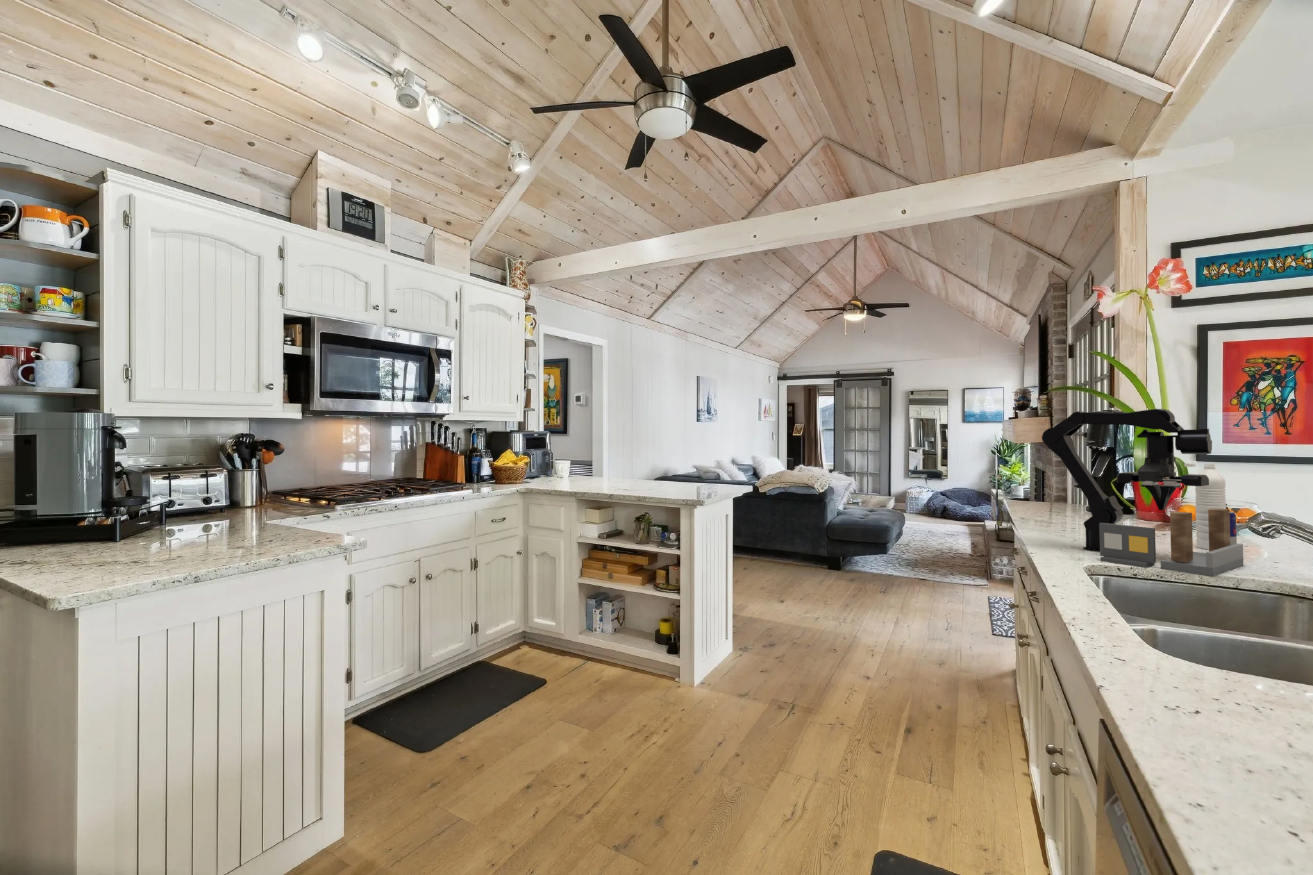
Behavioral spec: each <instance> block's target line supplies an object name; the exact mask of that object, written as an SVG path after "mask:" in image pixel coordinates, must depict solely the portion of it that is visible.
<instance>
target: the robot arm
mask: <svg viewBox="0 0 1313 875" xmlns="http://www.w3.org/2000/svg"><path fill="white" fill-rule="evenodd" d="M1084 425H1109V426H1110V425H1113V426H1115V425H1116V426H1133V427H1137V428H1143V429H1142V431H1141V432H1140V433H1138V434H1137V435H1136V438H1137V439H1139V438H1140V439H1143V438H1145V443H1146V457H1144V463H1143V465H1141V466H1140V467H1139V468H1138V469H1137V470H1136V472H1131V471H1130V472H1129V471H1127V472H1126V471H1125V472H1119V473H1118V474H1117V475H1116V483H1117V484H1118V483H1120V484H1130V483H1134V482H1135V483H1139V482H1141V484H1140V486H1141V487H1143V488H1145V489H1146V490H1148V492H1149V493H1150V494H1151V496H1152V499H1154V500H1153V501H1154V502H1155V504H1156V506H1157V509H1158V510H1159V511H1165V509H1166V508H1167V505H1168V503H1169V501H1170V499H1171V497H1172V496H1173V494H1174V493H1175V491H1176V490H1177V489H1178V488H1182V485H1181V484H1183V485H1184V486H1185V487H1195V486H1206V485H1209V478H1208V477H1207V476H1206V475H1199V474H1194V473H1192V474H1191V473H1189V474H1183V475H1182V476H1178V475H1177V471H1175V462H1176V456H1175V452H1174V451H1175V450H1176V451H1180V453H1181V454H1182V455H1211V454H1212V450H1213V440H1212V439H1211V434H1210V428H1198V429H1184V428H1183V427H1182V426H1181V425H1180V424H1179V423H1178V422H1177V421H1176V418H1175V414H1174V413H1173V412H1172V411H1170V410H1169V409H1165V408H1151V409H1144V410H1138V411H1131V412H1113V411H1112V412H1110V411H1109V412H1103V411H1102V412H1098V411H1097V412H1095V411H1094V412H1091V411H1089V412H1088V411H1087V412H1086V411H1082V410H1081V411H1074V412H1072V414H1070V415H1069V416H1068V417H1067V418H1065V419H1063V420H1062V421H1060V422H1059V423H1058V424H1056V425H1055V426H1054V427H1049V428H1046V429H1045V430H1044V431H1043V432H1042V435H1041V440H1042V442H1043V444H1044V445H1045V446H1046V447H1047V448H1048V449H1049V450H1050V451H1051V452H1052V453H1053V454H1055V455H1056V456H1058V457H1059V459H1060V460H1061V462H1062V463H1063V465H1064V466H1065V468H1067V470H1068V472H1069V474H1070V475H1071V477H1072V478H1073V480H1074V481H1075V483H1076V484H1077V486H1078V487H1079V489H1080V490H1081V492H1082V494H1083V495H1084V496H1085V498H1086V500H1087V504H1088V508H1089V512H1090V514H1091V516H1090V517H1089V518H1088V519H1087V520H1085V521H1084V522H1083V527H1084V528H1085V546H1083V548H1082V549H1084V550H1090V551H1097V552H1100V533H1099V523H1108V524H1118V523H1119V522H1121V520H1122V519H1123V517H1124V512H1123V510H1122V509H1124V507H1123V506H1121V505H1120V503H1119V502H1118V499H1117V498H1116V496H1115V495H1112V496H1108V495H1107V494H1105V493H1104V492H1103V490H1102V489H1101V487H1100V486H1099V484H1098V483H1097V481H1096V480H1095V479H1094V477H1093V476H1092V474H1091V472H1090V471H1089V469H1088V468H1087V467H1086V465H1085V463H1084V462H1083V461H1082V459H1081V458H1080V456H1079V455H1078V453H1077V451H1076V449H1075V443H1074V440H1073V438H1072V436H1073V435H1075V434H1076V433H1077V432H1078V431H1079V430H1080V429H1082V427H1083V426H1084ZM1148 429H1150V430H1162V431H1149V430H1148ZM1163 431H1164V432H1166V433H1168V434H1169V433H1170V435H1165V433H1164V432H1163ZM1173 433H1175V434H1174V435H1173ZM1176 433H1177V434H1176ZM1174 438H1175V439H1174ZM1174 445H1175V446H1174ZM1174 449H1175V450H1174Z"/></svg>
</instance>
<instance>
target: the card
mask: <svg viewBox="0 0 1313 875" xmlns="http://www.w3.org/2000/svg"><path fill="white" fill-rule="evenodd" d="M1099 533H1100V551H1099V556H1100V562H1105V563H1106V562H1107V563H1113V564H1119V565H1124V566H1125V565H1126V566H1132V567H1140V568H1145V569H1146V568H1149V567H1153V566H1155V564H1157V560H1156V559H1157V554H1156V552H1157V551H1156V550H1157V549H1156V546H1157V545H1156V528H1155V527H1146V526H1138V525H1137V526H1134V525H1128V524H1127V525H1126V524H1118V523H1116V524H1108V523H1099Z"/></svg>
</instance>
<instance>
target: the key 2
mask: <svg viewBox="0 0 1313 875" xmlns="http://www.w3.org/2000/svg"><path fill="white" fill-rule="evenodd" d="M1208 525H1209V550H1208V552H1210V551H1213V550H1217V549H1220V548H1223V547H1226V546H1230V509H1229V508H1228V509H1227V508H1226V509H1216V508H1213V509H1209V510H1208Z"/></svg>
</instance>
